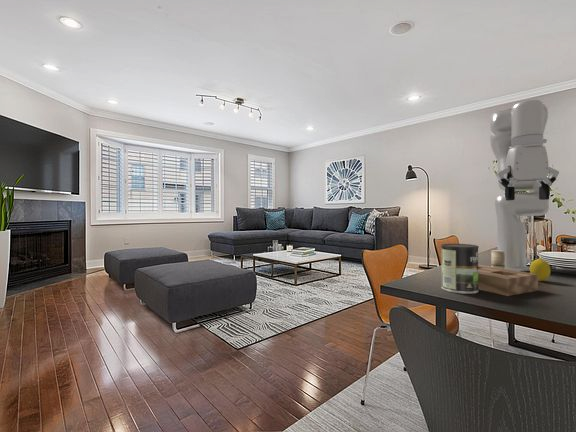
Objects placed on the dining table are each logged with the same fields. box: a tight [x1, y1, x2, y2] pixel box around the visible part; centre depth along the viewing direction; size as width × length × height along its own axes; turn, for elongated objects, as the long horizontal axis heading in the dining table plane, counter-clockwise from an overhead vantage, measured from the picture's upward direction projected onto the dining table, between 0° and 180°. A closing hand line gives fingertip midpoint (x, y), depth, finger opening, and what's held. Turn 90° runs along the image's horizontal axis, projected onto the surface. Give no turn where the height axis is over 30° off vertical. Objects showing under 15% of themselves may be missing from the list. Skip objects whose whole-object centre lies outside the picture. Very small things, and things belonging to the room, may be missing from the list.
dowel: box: [490, 249, 505, 269], centre depth 109 cm, size 4×4×10 cm
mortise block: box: [478, 264, 539, 297], centre depth 100 cm, size 14×22×6 cm, turn 22°
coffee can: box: [440, 243, 480, 295], centre depth 95 cm, size 10×10×14 cm
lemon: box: [529, 257, 552, 282], centre depth 104 cm, size 6×6×8 cm
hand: (527, 199), depth 92 cm, fingers open, 9 cm apart
